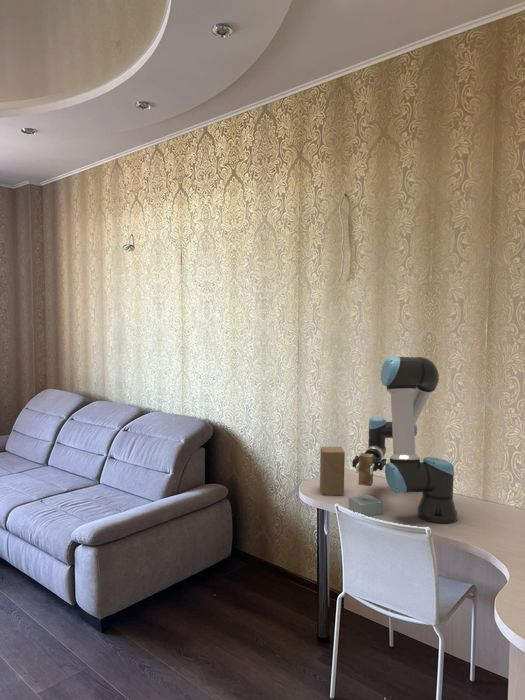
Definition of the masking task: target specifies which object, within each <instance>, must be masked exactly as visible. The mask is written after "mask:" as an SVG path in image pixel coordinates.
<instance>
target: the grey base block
mask: <svg viewBox="0 0 525 700" xmlns="http://www.w3.org/2000/svg"><path fill="white" fill-rule="evenodd" d="M348 509H349V510H351V511H352V510H353V511H355V512H358V513H361V514H364V515H369V516H378V515H383V502H382V501H381V500H380V499H377V498H376V497H375V496H372V495H371V494H365V495H355V496H348ZM353 511H352V512H353ZM355 512H354V513H355ZM369 516H368V517H369Z"/></svg>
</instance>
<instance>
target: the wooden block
mask: <svg viewBox="0 0 525 700" xmlns="http://www.w3.org/2000/svg"><path fill="white" fill-rule="evenodd" d="M345 453H346V452H345V450H344V449H343V447H342V446H321V447H320V456H319V457H320V460H319V466H320V467H319V468H320V469H319V489H320V492H321V495H322V494H323V495H322V496H344V493H345V464H346V463H345V462H346V461H345V459H346V458H345V457H346V455H345Z"/></svg>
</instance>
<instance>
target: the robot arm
mask: <svg viewBox="0 0 525 700" xmlns="http://www.w3.org/2000/svg"><path fill="white" fill-rule="evenodd" d="M439 380H440V378H439V370H438V368H437V366H436V365H435V364H434V362H433V361H432V360H430V359H428V358H426V357H422V356H414V357H413V356H392V357H388V358H386V359H385V360H384V362H383V364H382V366H381V371H380V381H381V384H382V385H383V386H385V387H386V392H388V393H389V395H390V409H391V421H387V419H386V418H385V417H380V416H373V417H370V418H369V421H368V422H369V423H368V442H367V443H368V444H367V445H368V446H367V447H368V448H367V449H366V451H364V453H366V454H374V455H373V464H372V466H371V467H370V475H372V474H373V475H374V472H377V471H378V470H379V471H383V469H384V475H385V480H386V483H387V485H388V487H389V488H390V490H391V491H392V492H394V493H396V494H398V493H400V494H401V493H402V494H406V493H422V496H421V499H420V501H419V504H418V506H417V512H416V513H417V516H418V517H419V518H421V519H423V520H424V521H428V522H429V523H430V522H432V523H436V524H437V523H438V524H448V523H447V522H452V523H454V522H453V521H455V520H456V519H457V520H458V512H457V510H456V506H455V501H454V479H455V478H454V477H455V471H454V465H453V464H452V463H451V462H450V461H448V460H445V459H443V458H438V457H431V456H426V457H424V458H423V459H422V461H421V459H420V456H418V455H417V453H416V436H417V434H418V426H417V421H418V419H419V417H420V415H421V414H422V411H423V410H424V407H425V405H426V403H427V401H428V399H429V396H430V395H431V394H432V393H434V391H436V388H437V387H438V384H439ZM386 439H392V451H393V454H392V455H391V456H390V457H389V462H388V463H387V458H384V456H385V455H386V451H387V448H386ZM359 456H360V455H359ZM359 456H358V455H357V454H356V455H355V456H354V458H353V460H352V463H351V464H352V467H353V468H354V469H355V474H359ZM457 520H456V521H457ZM456 521H455V522H456Z"/></svg>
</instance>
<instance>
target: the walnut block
mask: <svg viewBox="0 0 525 700" xmlns="http://www.w3.org/2000/svg"><path fill="white" fill-rule="evenodd" d="M373 455H374V454H366V453H365V452H361V453H360V454H359V472H358V485H359V486H366V487H371V486H372V485H373V483H374V482H373V481H374V473H373V474H372V475H370V467H371V466H372V464H373Z"/></svg>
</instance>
